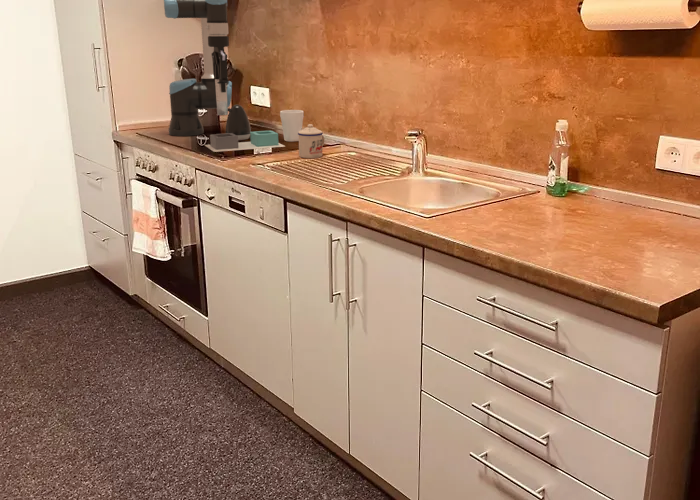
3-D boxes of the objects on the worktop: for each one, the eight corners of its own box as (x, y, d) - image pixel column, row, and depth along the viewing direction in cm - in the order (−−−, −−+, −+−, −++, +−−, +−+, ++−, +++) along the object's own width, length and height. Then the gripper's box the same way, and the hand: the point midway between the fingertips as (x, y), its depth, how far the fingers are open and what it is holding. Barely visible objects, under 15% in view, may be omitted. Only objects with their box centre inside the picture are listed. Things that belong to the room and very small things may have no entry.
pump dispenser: (222, 141, 289) (220, 104, 284) (247, 139, 293) (245, 102, 288) (229, 144, 280) (227, 106, 275) (254, 143, 284) (252, 105, 279)
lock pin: (216, 114, 263) (213, 79, 259) (226, 113, 265) (224, 78, 261) (218, 115, 260) (216, 80, 256) (229, 115, 261) (227, 79, 257)
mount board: (204, 148, 271) (203, 133, 269) (272, 143, 282) (272, 128, 280) (214, 155, 257) (213, 139, 255) (285, 150, 268) (285, 134, 266)
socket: (250, 143, 274) (250, 131, 273) (271, 141, 278) (271, 130, 276) (257, 146, 267) (256, 135, 266) (278, 145, 270) (278, 133, 269)
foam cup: (282, 146, 277) (281, 113, 273) (279, 142, 286) (278, 110, 282) (306, 145, 279) (305, 112, 275) (302, 141, 288) (301, 109, 284)
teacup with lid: (311, 159, 250) (311, 127, 247) (293, 156, 256) (292, 124, 252) (333, 154, 259) (332, 123, 256) (314, 151, 265) (314, 121, 261)
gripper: (202, 34, 259) (206, 98, 267) (213, 36, 244) (217, 103, 252) (222, 34, 262) (225, 97, 269) (234, 35, 247) (237, 102, 255)
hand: (221, 100), depth 261 cm, fingers closed on lock pin, 4 cm apart
